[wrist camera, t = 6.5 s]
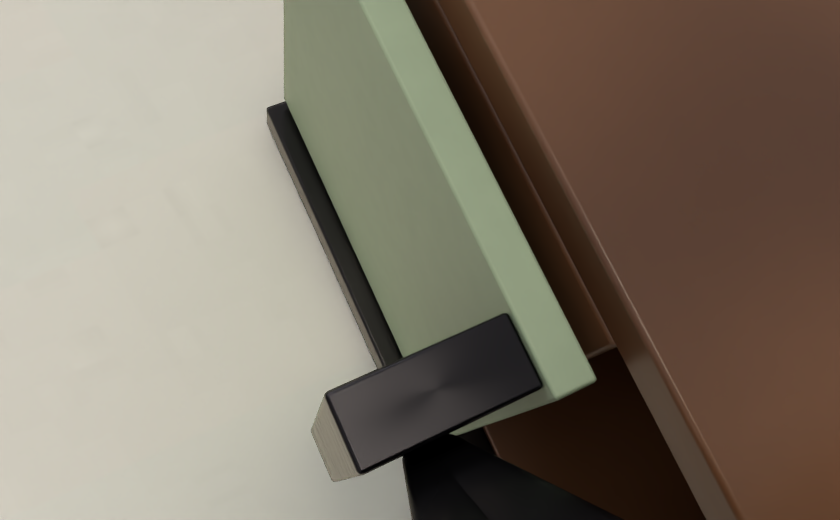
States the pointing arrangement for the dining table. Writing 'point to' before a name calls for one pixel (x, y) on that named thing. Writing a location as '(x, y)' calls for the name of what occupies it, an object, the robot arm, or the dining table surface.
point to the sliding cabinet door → (419, 241)
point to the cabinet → (656, 240)
